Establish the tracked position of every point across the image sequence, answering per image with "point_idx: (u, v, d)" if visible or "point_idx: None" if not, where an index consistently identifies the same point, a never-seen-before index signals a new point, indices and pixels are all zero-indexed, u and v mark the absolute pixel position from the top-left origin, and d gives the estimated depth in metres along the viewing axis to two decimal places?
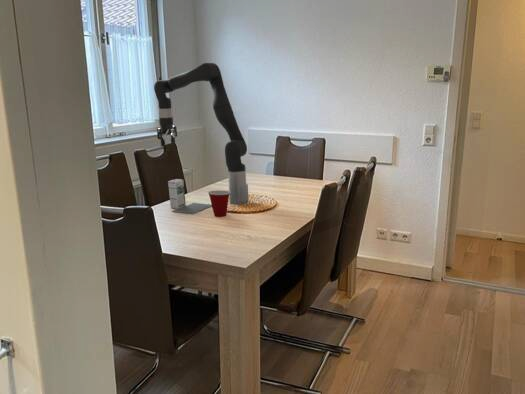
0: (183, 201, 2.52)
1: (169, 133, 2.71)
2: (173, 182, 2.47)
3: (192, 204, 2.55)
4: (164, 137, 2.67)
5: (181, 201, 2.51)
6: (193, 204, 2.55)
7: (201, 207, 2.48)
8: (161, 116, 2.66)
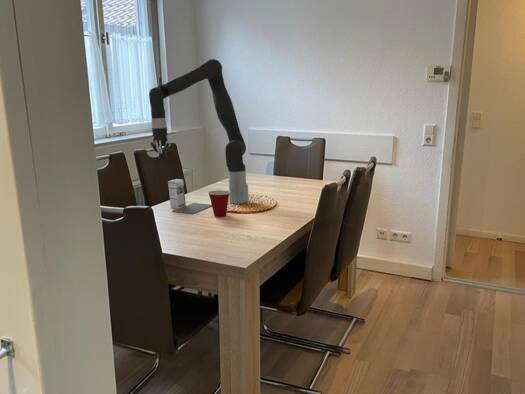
0: (183, 201, 2.52)
1: None
2: (173, 182, 2.47)
3: (192, 204, 2.55)
4: (164, 149, 2.51)
5: (181, 201, 2.51)
6: (193, 204, 2.55)
7: (201, 207, 2.48)
8: (165, 126, 2.45)
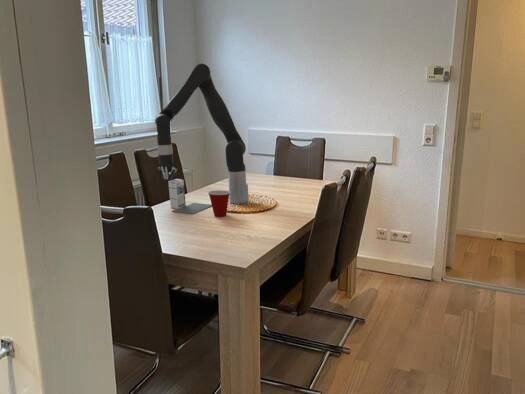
0: (183, 201, 2.52)
1: None
2: (173, 182, 2.47)
3: (192, 204, 2.55)
4: (170, 175, 2.53)
5: (181, 201, 2.51)
6: (193, 204, 2.55)
7: (201, 207, 2.48)
8: (171, 152, 2.47)
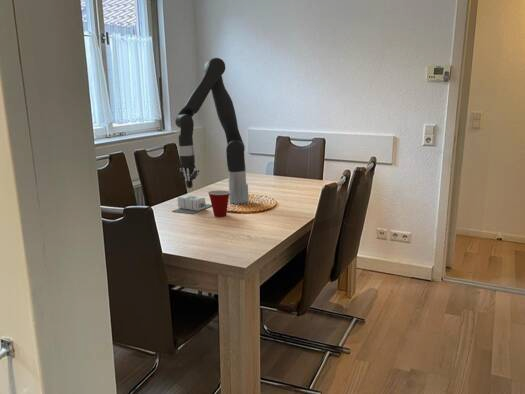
0: None
1: None
2: (197, 207, 2.41)
3: None
4: (191, 177, 2.46)
5: None
6: None
7: None
8: (192, 153, 2.41)
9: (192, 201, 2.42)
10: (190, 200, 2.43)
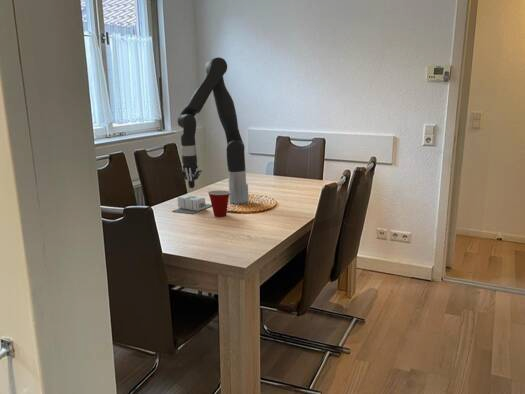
0: None
1: None
2: (197, 207, 2.41)
3: None
4: (193, 177, 2.45)
5: None
6: None
7: None
8: (195, 153, 2.40)
9: (192, 201, 2.42)
10: (190, 200, 2.43)
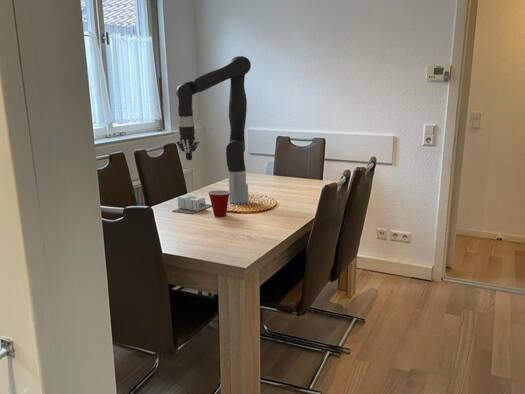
0: None
1: None
2: (197, 207, 2.41)
3: None
4: (191, 149, 2.43)
5: None
6: None
7: None
8: (192, 124, 2.37)
9: (192, 201, 2.42)
10: (190, 200, 2.43)
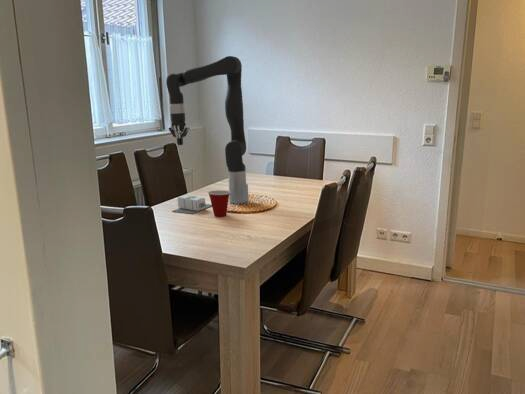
0: None
1: None
2: (197, 207, 2.41)
3: None
4: (182, 134, 2.58)
5: None
6: None
7: None
8: (183, 111, 2.53)
9: (192, 201, 2.42)
10: (190, 200, 2.43)
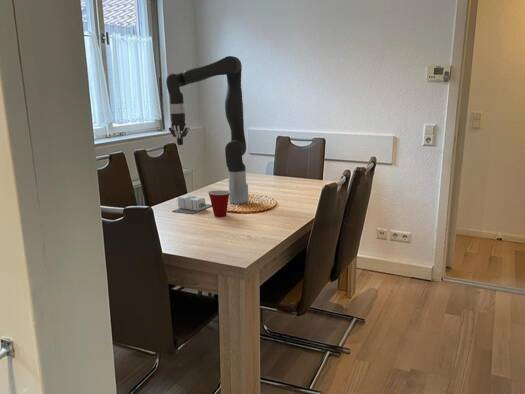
0: None
1: None
2: (197, 207, 2.41)
3: None
4: (182, 134, 2.58)
5: None
6: None
7: None
8: (183, 111, 2.53)
9: (192, 201, 2.42)
10: (190, 200, 2.43)
